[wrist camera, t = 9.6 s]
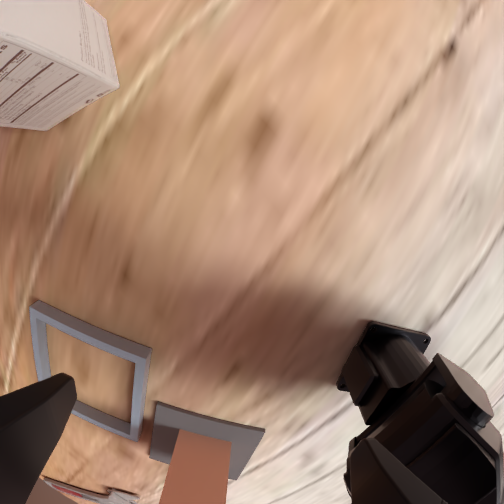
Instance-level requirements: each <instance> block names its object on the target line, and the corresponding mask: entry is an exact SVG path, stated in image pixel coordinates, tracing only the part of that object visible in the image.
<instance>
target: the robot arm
mask: <svg viewBox="0 0 504 504" xmlns="http://www.w3.org/2000/svg"><path fill="white" fill-rule="evenodd" d="M373 327H375V328H374V330H371V328H373ZM425 339H426V340H425ZM424 340H425V341H424ZM430 341H431V338H430V337H429V335H427V334H424V333H420V332H416V331H411V330H407V329H403V328H399V327H394V326H390V325H386V324H382V323H378V322H370V323H369V324H368V325H367V326H366V328H365V330H364V332H363V334H362V336H361V338H360V340H359V342H358V344H357V345H356V346H355V347H354V349H353V351H352V353H351V355H350V357H349V358H348V360H347V362H346V364H345V366H344V368H343V369H342V374H341V376H340V378H339V379H338V381H337V383H336V386H337V389H338V390H340V391H347V392H350V395H351V398H352V400H353V403H354V405H355V406H359V409H360V411H361V414H362V417H363V419H364V422H365V424H366V425H370V426H369V427H368V428H367V429H366V430H364V431H363V432H362V433H361V434H360V435H359V436H357V437H354V438H353V439H352V440H351V441H350V442H349V452H348V458H347V472H346V473H344V482H345V485H346V488H347V491H348V493H349V495H350V497H351V499H352V503H351V504H504V477H503V476H504V474H503V472H504V471H503V448H502V437H501V434H500V432H499V431H498V430H497V429H496V428H495V427H494V425H493V424H492V423H491V422H490V420H491V419H492V418H493V417H494V413H493V410H492V407H491V404H490V402H489V399H488V397H487V394H486V391H485V390H484V389H483V388H482V387H481V386H480V385H479V384H478V383H477V382H476V381H475V380H474V378H473V377H472V376H471V375H470V374H469V373H467V372H466V371H464V370H463V369H462V368H460V367H459V366H457V365H456V364H454V363H453V362H451V361H450V360H448V359H447V358H445V357H444V356H442V355H441V354H439V353H437V354H436V355H435V356H434V358H433V359H432V360H433V361H432V362H431V363H430V362H429V361H428V360H427V359H426V357H425V356H424V355H423V354H424V352H425V350H426V348H427V347H428V345H429V343H430ZM342 384H344V385H342ZM76 399H77V394H76V388H75V381H74V379H73V377H72V376H69V375H67V374H65V373H59V374H56V375H54V376H52V377H49V378H47V379H44V380H42V381H39V382H37V383H34V384H31V385H29V386H26V387H24V388H21V389H19V390H16V391H14V392H11V393H8V394H6V395H3V396H0V504H25V503H26V501H27V499H28V497H29V495H30V493H31V491H32V489H33V487H34V485H35V483H36V481H37V480H38V478H39V476H40V474H41V472H42V470H43V468H44V466H45V465H46V463H47V461H48V459H49V457H50V455H51V454H52V452H53V450H54V448H55V447H56V445H57V443H58V441H59V439H60V437H61V435H62V433H63V430H64V428H65V426H66V423H67V421H68V419H69V416H70V414H71V412H72V409H73V407H74V405H75V403H76Z"/></svg>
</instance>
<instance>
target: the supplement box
mask: <svg viewBox="0 0 504 504" xmlns="http://www.w3.org/2000/svg"><path fill="white" fill-rule="evenodd" d="M119 87H120V85H119V81H118V76H117V71H116V66H115V62H114V57H113V52H112V47H111V42H110V37H109V32H108V26H107V20H106V19H105V18H104V17H103V16H101V15H100V14H99V13H98V12H97V11H96V10H95V9H94V8H92V7H91V6H90V5H89V4H88V3H86V2H85V1H84V0H0V127H11V128H22V129H31V130H40V131H48V130H49V129H50V128H52V127H54V126H55V125H57V124H58V123H60V122H61V121H63V120H65V119H66V118H68V117H69V116H71V115H73V114H74V113H76V112H78V111H79V110H81V109H83V108H84V107H86V106H88V105H89V104H91V103H93V102H95V101H97V100H98V99H100V98H102V97H104V96H105V95H107V94H109V93H111V92H113V91H115V90H117V89H118V88H119Z"/></svg>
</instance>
